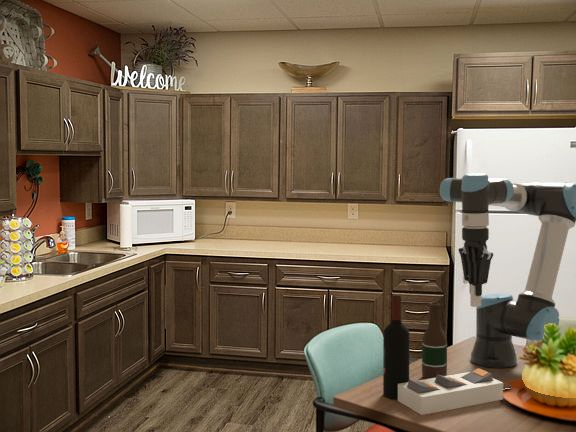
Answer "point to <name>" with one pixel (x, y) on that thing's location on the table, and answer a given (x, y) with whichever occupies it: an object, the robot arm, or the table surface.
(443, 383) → the rocker
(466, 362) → the table surface
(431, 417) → the table surface
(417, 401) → the power strip
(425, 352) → the beer bottle
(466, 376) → the rocker
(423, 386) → the rocker
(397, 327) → the wine bottle
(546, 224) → the robot arm
